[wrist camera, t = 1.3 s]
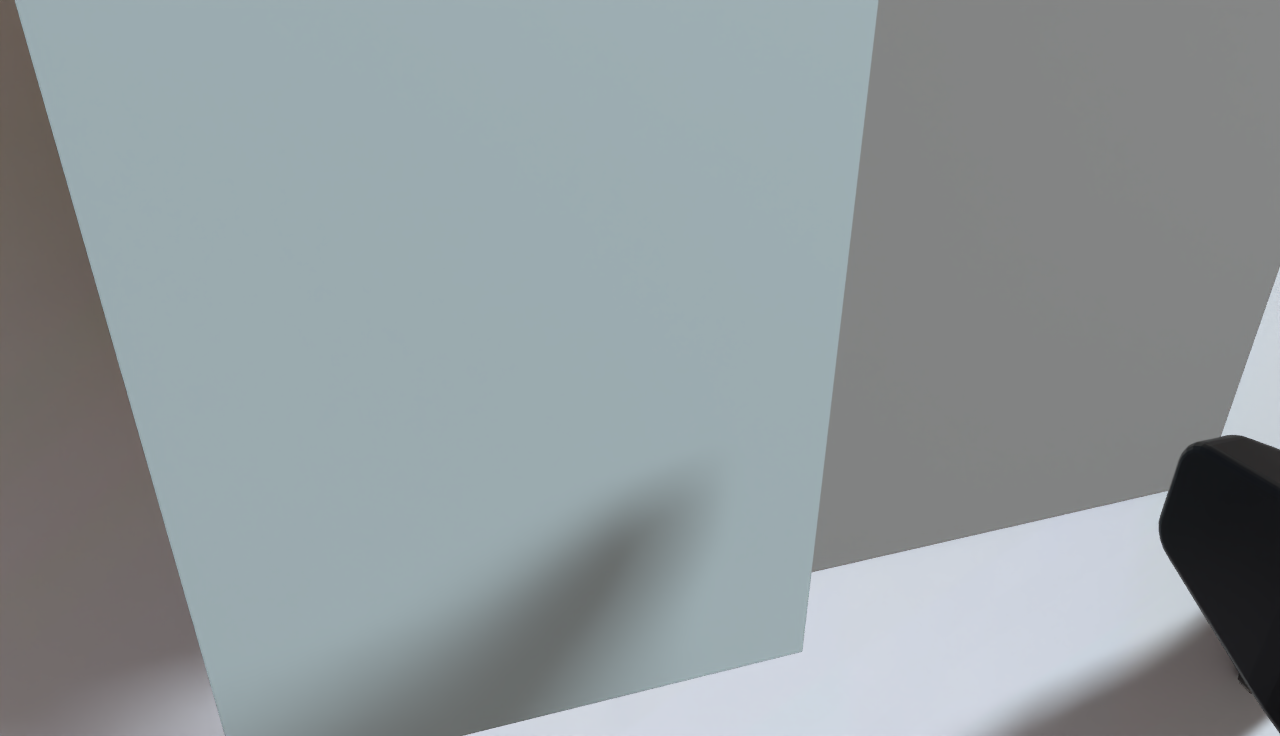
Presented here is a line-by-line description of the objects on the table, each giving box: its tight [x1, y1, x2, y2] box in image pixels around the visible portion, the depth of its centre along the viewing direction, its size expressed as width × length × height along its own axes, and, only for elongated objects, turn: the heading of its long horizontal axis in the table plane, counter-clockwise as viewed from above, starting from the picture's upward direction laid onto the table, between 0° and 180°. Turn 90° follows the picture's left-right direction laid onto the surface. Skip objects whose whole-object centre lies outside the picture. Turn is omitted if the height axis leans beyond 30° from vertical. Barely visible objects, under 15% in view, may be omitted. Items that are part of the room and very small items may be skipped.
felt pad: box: [812, 0, 1280, 572], centre depth 22 cm, size 14×10×1 cm
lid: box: [15, 0, 878, 736], centre depth 12 cm, size 11×7×3 cm, turn 0°
